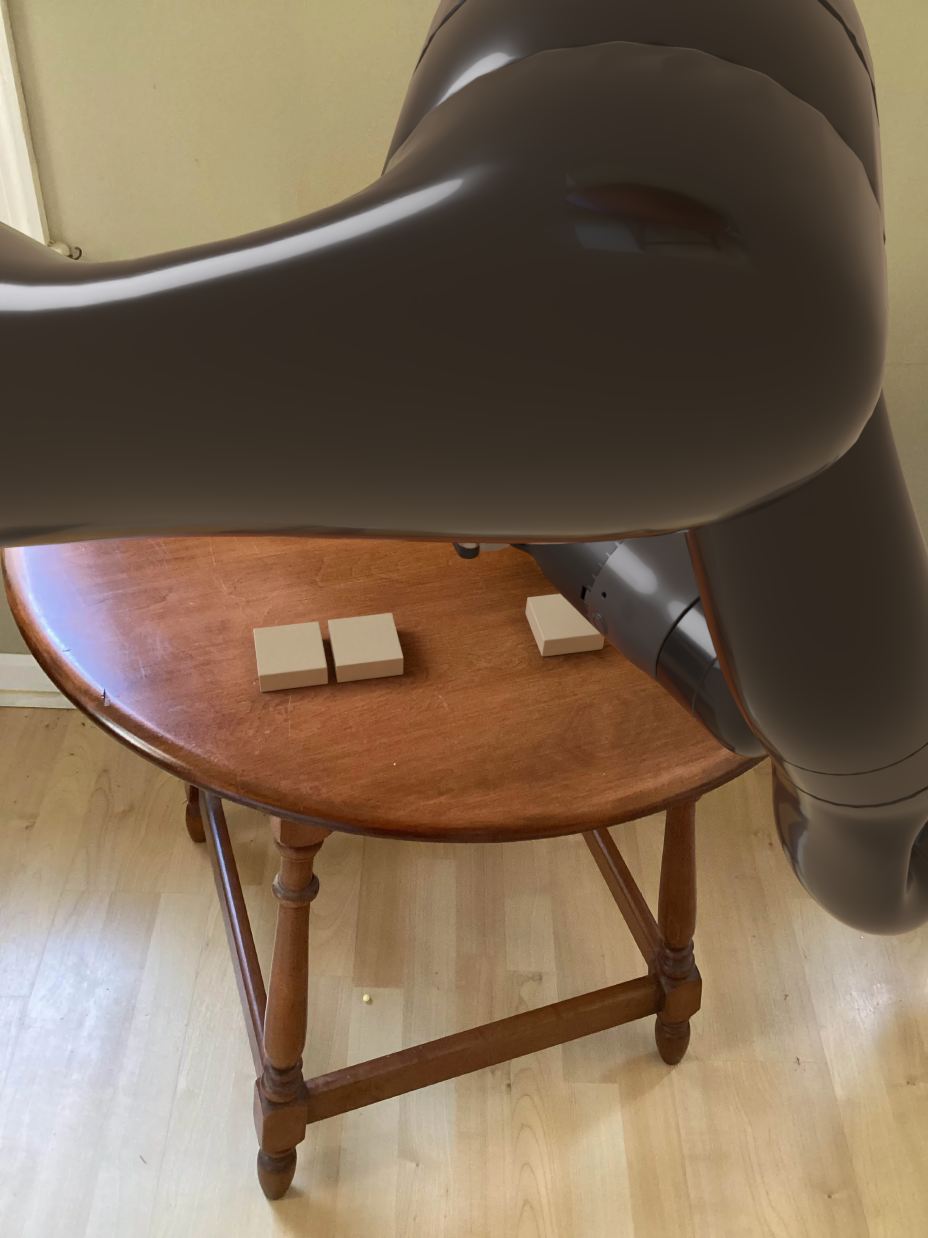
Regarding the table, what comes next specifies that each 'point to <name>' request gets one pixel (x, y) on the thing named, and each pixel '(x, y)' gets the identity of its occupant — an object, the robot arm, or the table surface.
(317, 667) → the near word
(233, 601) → the table surface
